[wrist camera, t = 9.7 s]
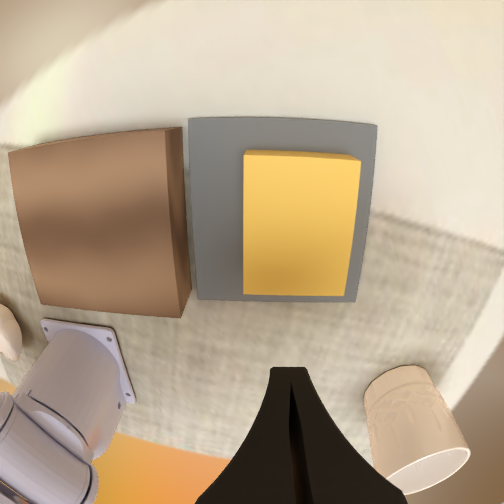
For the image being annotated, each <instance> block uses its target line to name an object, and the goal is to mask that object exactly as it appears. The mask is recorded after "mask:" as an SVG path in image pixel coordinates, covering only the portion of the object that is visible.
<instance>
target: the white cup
mask: <svg viewBox="0 0 504 504" xmlns="http://www.w3.org/2000/svg"><path fill="white" fill-rule="evenodd" d="M364 406H365V411H366V416H367V427H368V432H369V439H370V447H371V453H372V459H373V465H374V469H375V470H376V471H377V472H378V473H380V474H381V475H382V476H383V477H384V478H386V479H387V480H388V481H389V482H391V483H392V484H393V485H395V486H396V487H398V488H399V489H400V490H402V492H403V494H404V495H407V494H412V493H415V492H418V491H421V490H424V489H426V488H429V487H431V486H433V485H435V484H437V483H439V482H441V481H443V480H445V479H446V478H448V477H449V476H451V475H452V474H454V473H455V472H456V471H458V470H459V469H460V468H461V467H462V466H463V465H464V464H465V463H466V461H467V460H468V458H469V456H470V450H469V448H468V446H467V443H466V441H465V439H464V437H463V435H462V433H461V431H460V429H459V427H458V425H457V423H456V421H455V419H454V417H453V415H452V413H451V411H450V410H449V408H448V407H447V405H446V403H445V401H444V399H443V398H442V396H441V394H440V392H439V391H438V390H437V389H436V387H435V386H434V384H433V382H432V381H431V379H430V377H429V375H428V373H427V371H426V370H425V369H423V368H421V367H418V366H416V365H411V366H400V367H398V368H395V369H392V370H390V371H387V372H385V373H384V374H382V375H381V376H379V377H378V378H377V379H375V380H374V381H373V382H372V383H371V384H370V386H369V387H368V389H367V390H366V391H365V395H364Z"/></svg>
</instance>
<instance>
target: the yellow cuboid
mask: <svg viewBox="0 0 504 504" xmlns="http://www.w3.org/2000/svg"><path fill="white" fill-rule="evenodd" d="M360 169H361V161H360V160H358V159H356V158H355V157H353V156H351V155H348V154H336V153H322V152H304V151H282V150H246V152H245V154H244V182H243V294H251V295H292V296H344V292H345V286H346V280H347V274H348V268H349V261H350V255H351V248H352V240H353V233H354V225H355V217H356V209H357V200H358V190H359V180H360Z"/></svg>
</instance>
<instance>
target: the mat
mask: <svg viewBox="0 0 504 504" xmlns="http://www.w3.org/2000/svg"><path fill="white" fill-rule="evenodd" d="M188 135H189V168H190V192H191V211H192V228H193V244H194V258H195V271H196V283H197V294H198V299H204V300H230V301H264V302H355V300H356V295H357V290H358V284H359V279H360V273H361V267H362V261H363V255H364V249H365V242H366V235H367V228H368V220H369V213H370V204H371V196H372V186H373V176H374V166H375V154H376V140H377V125H370V124H361V123H352V122H341V121H330V120H316V119H299V118H272V117H216V118H190V119H188ZM246 150H282V151H304V152H322V153H336V154H348V155H351V156H353V157H355V158H356V159H358V160H360V161H361V169H360V180H359V190H358V200H357V209H356V217H355V225H354V233H353V240H352V248H351V255H350V261H349V268H348V274H347V280H346V286H345V292H344V296H292V295H251V294H243V182H244V154H245V152H246Z"/></svg>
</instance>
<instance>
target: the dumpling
mask: <svg viewBox="0 0 504 504" xmlns="http://www.w3.org/2000/svg"><path fill="white" fill-rule="evenodd" d="M21 349H22V334H21V329H20V327H19V324H18V323H17V322H16V319H15V317H14V315H13V313H12V312H11V311H10V310H9V309H8V308H7V307H5V306H4V305H2V304H0V352H1V353H3V354H4V355H5V356H6V357H7V358H9V359H10V360H12V361H18V360H19V357H20V354H21Z"/></svg>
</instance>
